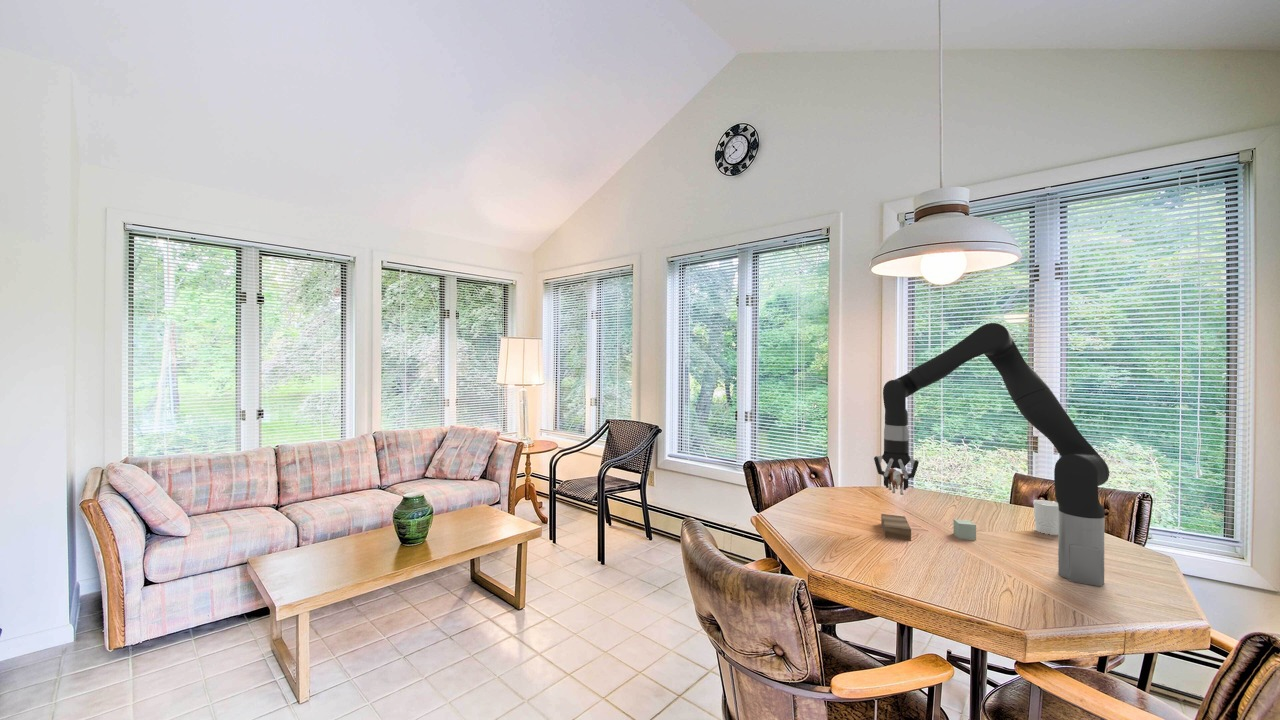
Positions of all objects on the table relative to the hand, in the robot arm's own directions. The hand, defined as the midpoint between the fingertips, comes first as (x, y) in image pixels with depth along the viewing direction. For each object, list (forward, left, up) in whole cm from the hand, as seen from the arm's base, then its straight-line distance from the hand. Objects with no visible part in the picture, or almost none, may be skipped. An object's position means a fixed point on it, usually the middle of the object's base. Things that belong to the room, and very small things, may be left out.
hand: (896, 488), depth 168 cm
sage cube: (+7, -20, -15) cm, 26 cm away
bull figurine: (0, 0, -2) cm, 2 cm away
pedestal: (0, 0, -15) cm, 15 cm away
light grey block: (+28, -45, -15) cm, 55 cm away
